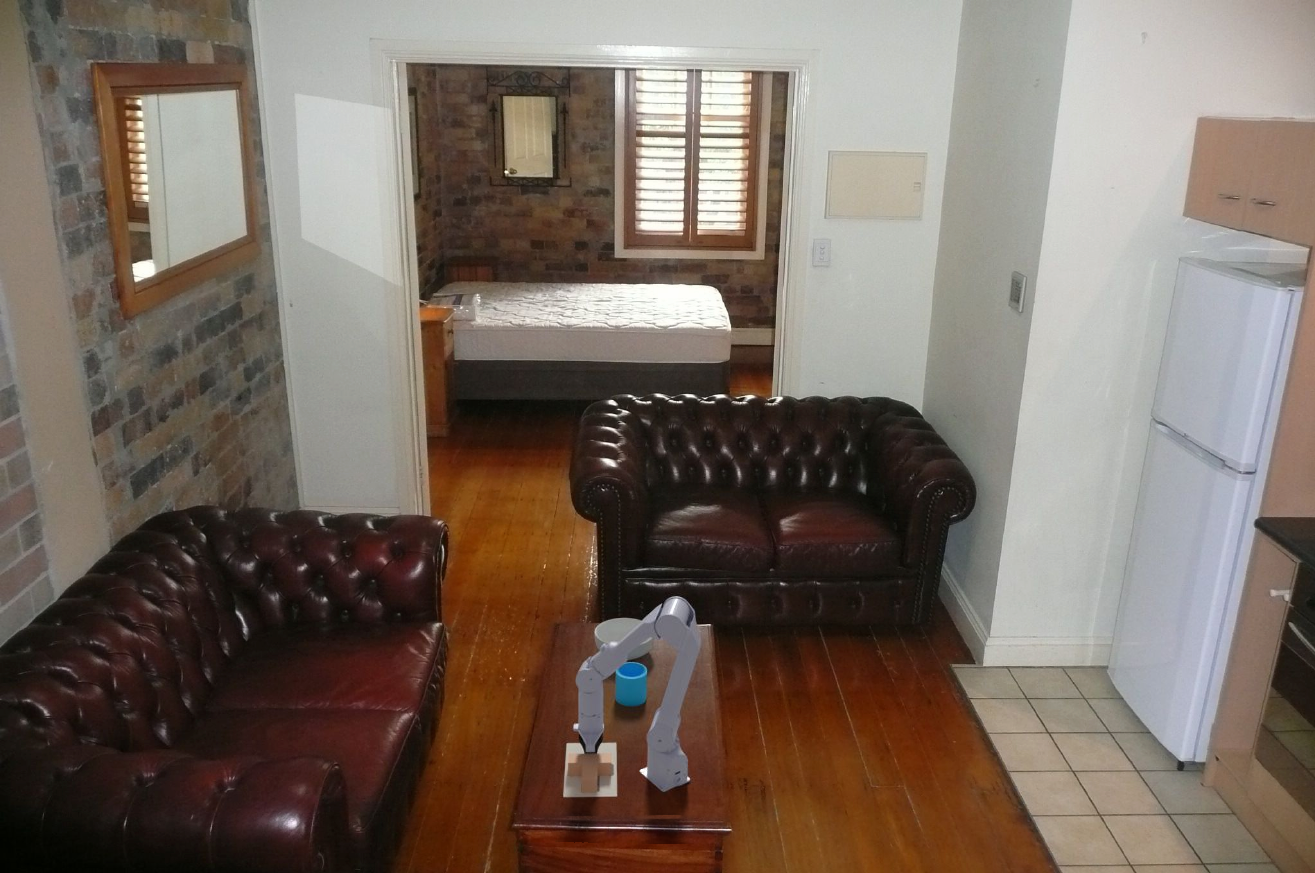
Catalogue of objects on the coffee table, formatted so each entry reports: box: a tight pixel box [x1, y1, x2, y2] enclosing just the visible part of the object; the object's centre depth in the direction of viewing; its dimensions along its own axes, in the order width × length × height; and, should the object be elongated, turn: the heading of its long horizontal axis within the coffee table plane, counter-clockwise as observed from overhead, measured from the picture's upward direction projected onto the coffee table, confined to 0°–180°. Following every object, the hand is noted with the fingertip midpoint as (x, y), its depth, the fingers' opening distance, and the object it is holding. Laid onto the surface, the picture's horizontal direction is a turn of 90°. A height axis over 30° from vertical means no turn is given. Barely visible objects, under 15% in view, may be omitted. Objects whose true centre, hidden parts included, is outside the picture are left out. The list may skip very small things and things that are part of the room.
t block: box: [568, 753, 612, 793], centre depth 234 cm, size 10×10×4 cm
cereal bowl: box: [594, 617, 655, 661], centre depth 288 cm, size 17×17×7 cm
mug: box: [615, 661, 648, 707], centre depth 268 cm, size 12×8×8 cm
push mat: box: [563, 742, 618, 798], centre depth 238 cm, size 20×12×1 cm, turn 3°
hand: (590, 759), depth 240 cm, fingers closed
